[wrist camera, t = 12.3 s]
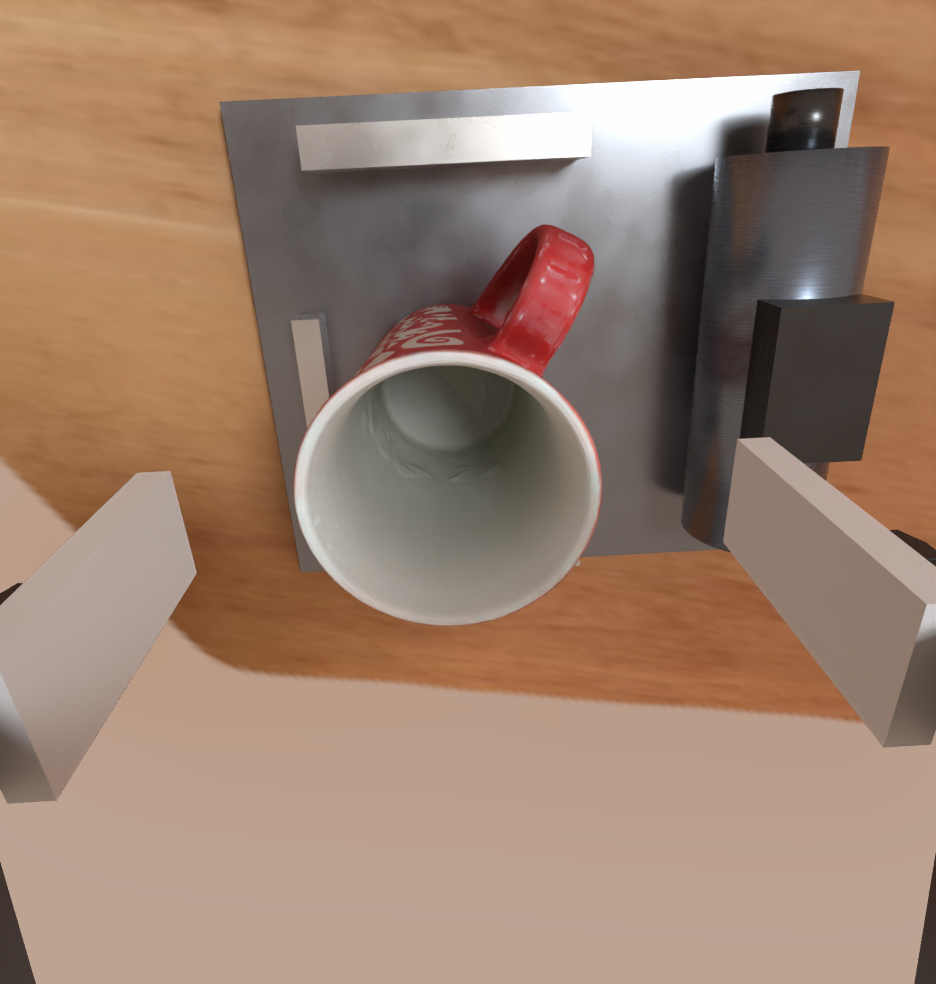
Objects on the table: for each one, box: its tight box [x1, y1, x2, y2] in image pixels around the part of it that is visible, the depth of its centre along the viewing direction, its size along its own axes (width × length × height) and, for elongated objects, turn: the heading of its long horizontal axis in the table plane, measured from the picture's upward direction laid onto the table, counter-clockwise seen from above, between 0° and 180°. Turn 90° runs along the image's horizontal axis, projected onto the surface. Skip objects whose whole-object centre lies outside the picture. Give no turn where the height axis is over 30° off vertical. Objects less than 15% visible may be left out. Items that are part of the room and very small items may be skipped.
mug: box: [294, 224, 602, 626], centre depth 25 cm, size 13×9×14 cm
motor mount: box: [220, 71, 895, 572], centre depth 28 cm, size 26×22×8 cm
